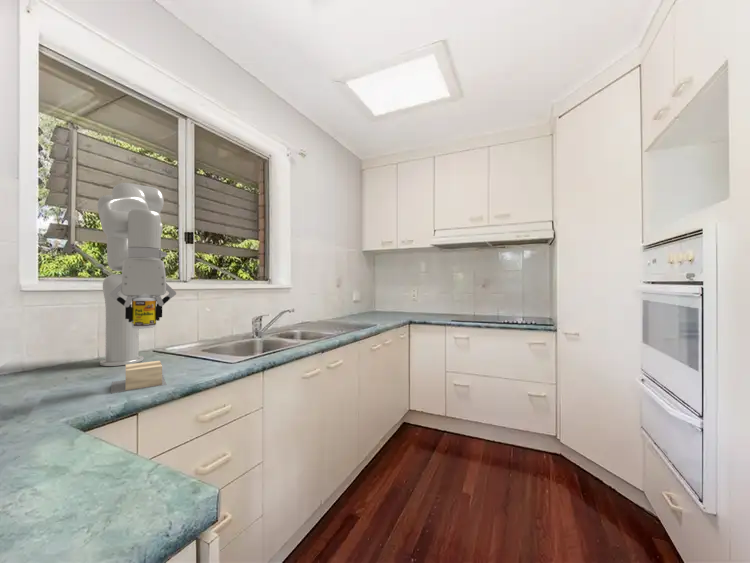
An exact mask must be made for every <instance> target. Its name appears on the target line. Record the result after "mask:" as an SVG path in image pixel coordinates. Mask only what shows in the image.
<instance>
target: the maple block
mask: <svg viewBox="0 0 750 563" xmlns="http://www.w3.org/2000/svg"><path fill="white" fill-rule="evenodd" d="M162 375H163V365H162V363H161V360H156V361H155V360H153V361H145V362H138V363H133V364H126V365H125V380H126V390H129V389H136V388H142V387H149V386H156V385H162Z"/></svg>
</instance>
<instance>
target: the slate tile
mask: <svg viewBox="0 0 750 563" xmlns="http://www.w3.org/2000/svg"><path fill="white" fill-rule="evenodd" d="M162 386H167V382H166V379H165V376H164V375H163V374H162V385H156V386H149V387H142V388H136V389H129V390H126V379H124V380H117V381H112V383H111V387H110V394H115V393H117V394H118V393H124V392H129V391H135V390H143V389H149V388H156V387H162Z"/></svg>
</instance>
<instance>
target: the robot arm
mask: <svg viewBox="0 0 750 563" xmlns="http://www.w3.org/2000/svg"><path fill="white" fill-rule="evenodd" d="M113 186H114V185H113ZM164 200H165V199H164V195H163V194H162V192H161V190H160V189H158V188H156V187H152V186H149V185H148V186H147V185H142V184H136V183H131V182H130V183H129V182H120V183H118V184H116V185H115V186H114V187H113V188H112V190H111V194H105V195H101V196H100V197H99V198H98V201H97V212H98V217H99V220H100V225H101V229H102V231H103V233H104V234H105V235H106V252H107V253H106V255H107V256H106V259H107V266H108V267H109V269H111V270H112V271H115V272H121V273H118V274H117V273H116V274H115V273H114V274H111V275H108V276H107V277H105V278H104V279H103V281H102V292H103V296H104V297H103V299H104V304H105V307H104V308H105V355H104V356H105V358H104V359H101V360H100V361H99V365H100V366H102V367H117V366H126V364H135V363H142V362H143V361H144V356H143V355H139V348H140V347H139V344H140V343H139V336H140V334H139V333H140V332H139V331H140V330H139V329H135V328H132V299H133V298H136V296H141V295H142V294H148V295H149V296H152V297H155V298H156V322H157V321H160V319H161V318H163V306H164V305H165V304H166V303H168V301H170V300H171V299H172V298H173V297H174V296H176V295H177V292H176V290H174V289H173V288H172V287H171V286H170V285H169V284H168V283H167V276H166V274H167V273H166V268H165V263H164V260H161V259H162V258H165V257H168V256H167V255H168V253H167V251H163V250H161V249H162V245H161V244H162V241H161V240H162V239H161V238H162V234H163V223H162V218H161V212H162V210H163V208H164V203H165V201H164ZM167 292H168V293H167ZM166 293H167V295H166ZM164 295H165V297H163V298H162V296H164Z"/></svg>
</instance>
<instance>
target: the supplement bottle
mask: <svg viewBox="0 0 750 563" xmlns="http://www.w3.org/2000/svg"><path fill="white" fill-rule="evenodd" d="M131 304H132V328H135V329H142V330H143V329H151V328H152V329H153V328H155V327H156V326H157V320H156V306H157V301H156V298H155V297H152V296H149V295H148V294H142V295H141V296H136V298H133V299H132V301H131Z"/></svg>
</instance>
